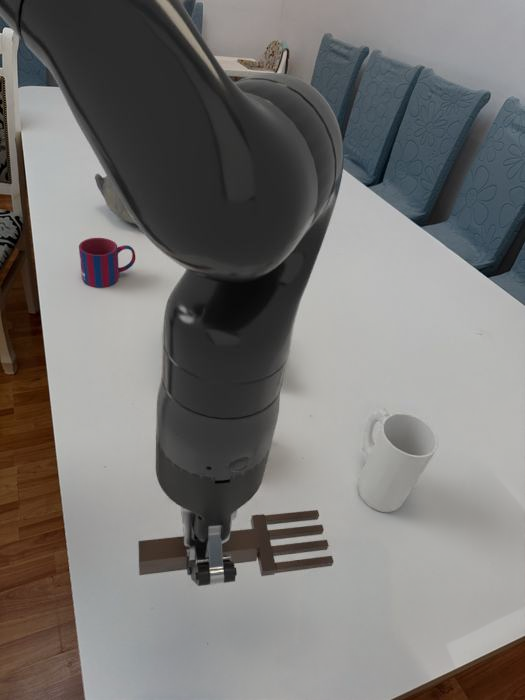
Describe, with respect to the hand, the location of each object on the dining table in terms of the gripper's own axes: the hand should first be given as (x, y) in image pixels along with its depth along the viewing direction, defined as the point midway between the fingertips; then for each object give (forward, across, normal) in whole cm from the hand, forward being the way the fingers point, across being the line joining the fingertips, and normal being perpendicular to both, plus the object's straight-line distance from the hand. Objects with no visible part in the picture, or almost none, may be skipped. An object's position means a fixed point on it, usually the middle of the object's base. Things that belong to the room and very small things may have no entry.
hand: (198, 557), depth 43 cm
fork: (0, 0, +3) cm, 3 cm away
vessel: (+13, -90, -2) cm, 91 cm away
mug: (+13, -14, +26) cm, 32 cm away
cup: (+13, -64, -10) cm, 66 cm away
